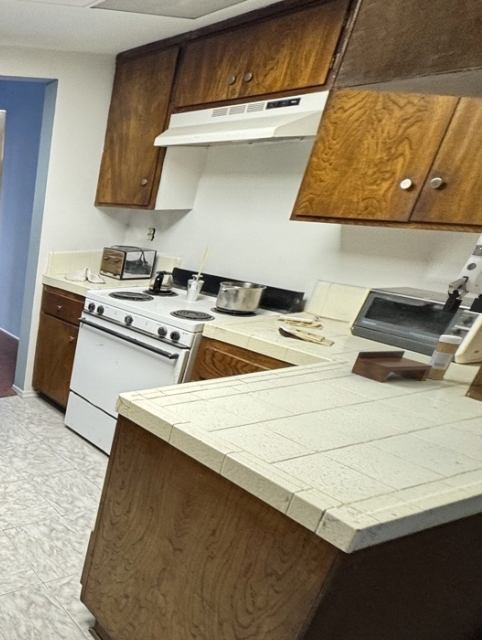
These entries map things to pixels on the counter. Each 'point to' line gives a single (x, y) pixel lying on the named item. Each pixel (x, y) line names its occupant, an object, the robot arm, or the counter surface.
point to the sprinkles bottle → (443, 356)
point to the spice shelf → (388, 366)
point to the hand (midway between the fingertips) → (462, 312)
